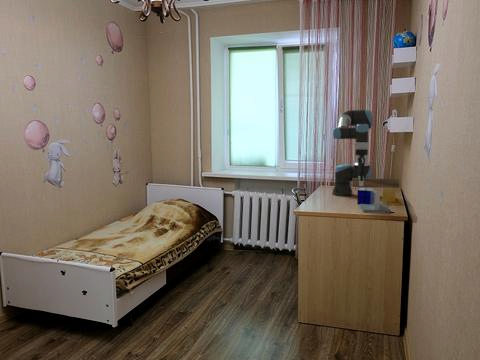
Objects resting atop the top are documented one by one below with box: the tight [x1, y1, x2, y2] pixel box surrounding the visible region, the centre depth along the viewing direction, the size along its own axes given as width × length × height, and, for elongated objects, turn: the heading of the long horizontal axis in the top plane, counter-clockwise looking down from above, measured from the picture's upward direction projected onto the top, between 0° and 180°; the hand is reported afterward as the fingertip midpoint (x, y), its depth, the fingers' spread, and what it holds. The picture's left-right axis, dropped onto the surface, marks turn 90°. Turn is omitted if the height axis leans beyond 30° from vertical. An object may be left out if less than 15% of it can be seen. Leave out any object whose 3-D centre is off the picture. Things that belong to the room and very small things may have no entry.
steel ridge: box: [370, 188, 381, 210], centre depth 258 cm, size 18×3×10 cm, turn 170°
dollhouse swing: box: [381, 189, 403, 206], centre depth 275 cm, size 10×10×9 cm
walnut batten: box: [351, 178, 400, 188], centre depth 256 cm, size 4×28×5 cm, turn 80°
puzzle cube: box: [356, 187, 372, 205], centre depth 277 cm, size 10×10×10 cm
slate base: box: [359, 203, 391, 214], centre depth 259 cm, size 18×16×2 cm
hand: (360, 185), depth 258 cm, fingers closed on walnut batten, 3 cm apart
